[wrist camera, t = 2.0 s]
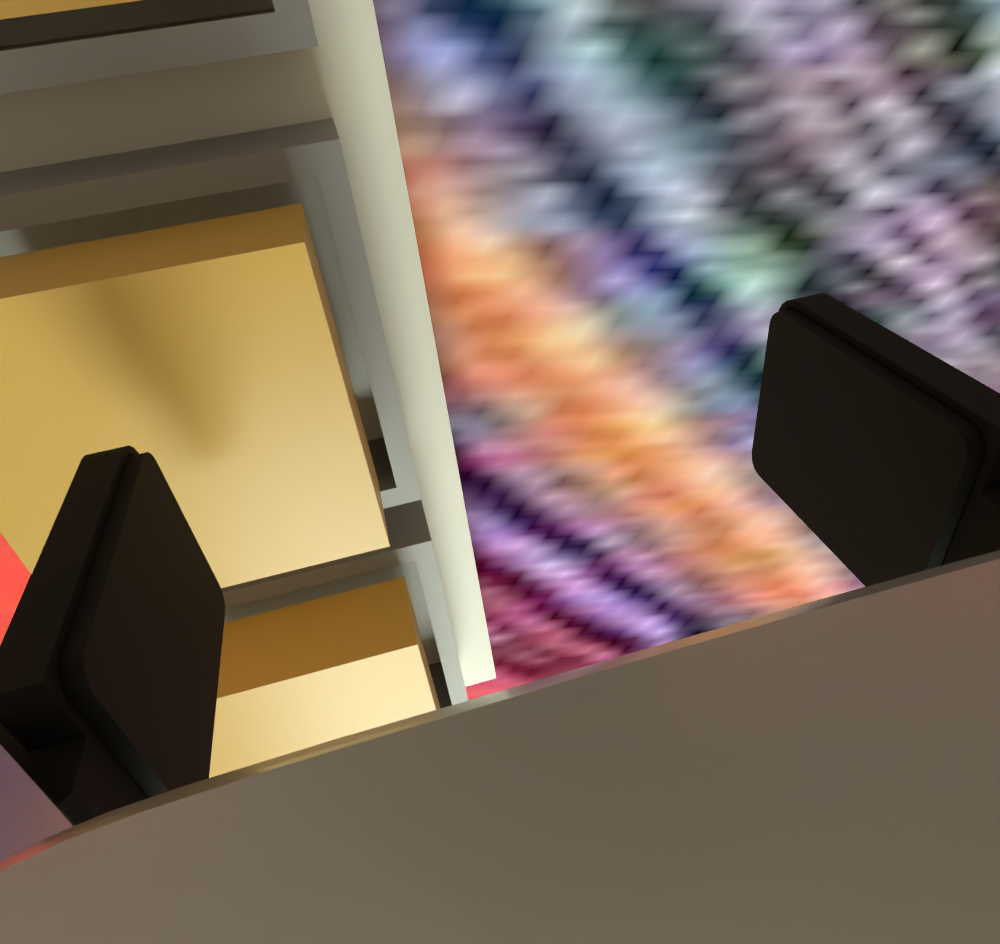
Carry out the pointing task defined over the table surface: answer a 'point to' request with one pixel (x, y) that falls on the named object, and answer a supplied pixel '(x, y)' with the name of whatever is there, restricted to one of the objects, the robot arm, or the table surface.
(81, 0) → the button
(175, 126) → the strip
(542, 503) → the table surface
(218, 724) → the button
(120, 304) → the button middle
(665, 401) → the table surface
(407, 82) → the table surface
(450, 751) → the robot arm
